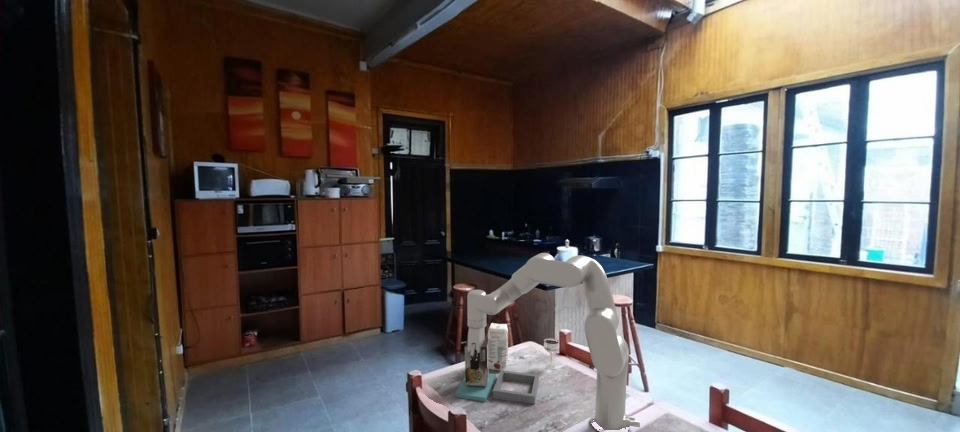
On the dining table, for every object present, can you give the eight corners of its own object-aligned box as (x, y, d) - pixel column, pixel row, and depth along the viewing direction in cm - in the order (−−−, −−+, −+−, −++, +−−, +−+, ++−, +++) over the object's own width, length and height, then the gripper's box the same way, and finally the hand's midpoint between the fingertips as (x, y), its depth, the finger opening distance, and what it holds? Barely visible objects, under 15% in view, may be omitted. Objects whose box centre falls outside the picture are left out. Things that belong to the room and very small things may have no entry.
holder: (538, 382, 158) (539, 375, 158) (534, 404, 143) (534, 396, 142) (500, 376, 162) (500, 370, 162) (492, 397, 146) (492, 390, 146)
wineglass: (560, 371, 167) (560, 344, 166) (544, 370, 167) (545, 344, 166) (557, 363, 174) (557, 338, 173) (542, 363, 174) (542, 337, 173)
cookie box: (488, 378, 157) (489, 340, 155) (487, 386, 150) (487, 347, 149) (466, 377, 158) (466, 339, 156) (464, 385, 151) (464, 346, 150)
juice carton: (506, 372, 166) (506, 330, 164) (486, 370, 168) (486, 328, 166) (508, 364, 173) (508, 323, 171) (489, 362, 175) (489, 321, 173)
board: (495, 377, 161) (495, 374, 161) (485, 401, 144) (485, 397, 144) (468, 373, 164) (468, 370, 164) (455, 397, 147) (455, 393, 147)
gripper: (473, 313, 161) (473, 354, 162) (461, 329, 144) (461, 374, 146) (491, 314, 159) (490, 356, 161) (480, 331, 142) (480, 376, 144)
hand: (477, 364), depth 153 cm, fingers closed on cookie box, 7 cm apart
